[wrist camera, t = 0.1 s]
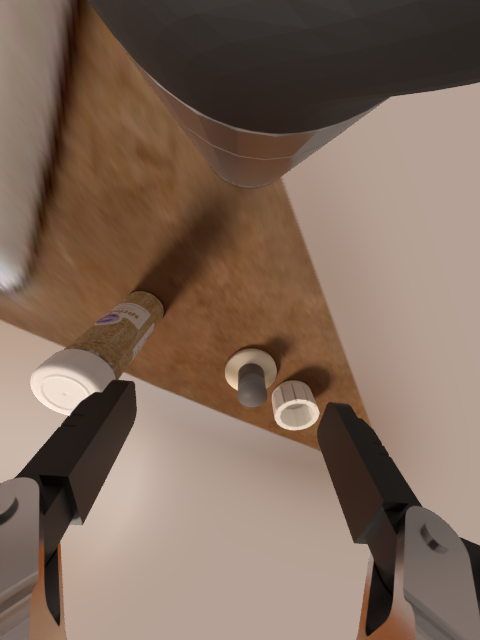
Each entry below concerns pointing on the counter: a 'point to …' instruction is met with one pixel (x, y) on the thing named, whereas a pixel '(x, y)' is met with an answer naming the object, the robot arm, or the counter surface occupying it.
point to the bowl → (294, 405)
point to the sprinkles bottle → (97, 354)
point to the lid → (251, 375)
